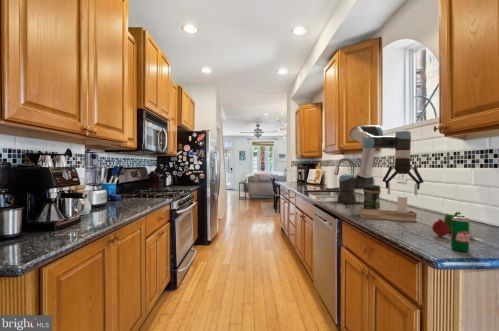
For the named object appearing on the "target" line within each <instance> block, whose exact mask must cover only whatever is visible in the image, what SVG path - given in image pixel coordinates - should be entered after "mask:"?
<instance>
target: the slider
mask: <svg viewBox="0 0 499 331" xmlns="http://www.w3.org/2000/svg"><path fill="white" fill-rule="evenodd" d="M396 211H397V213H407V211H408V196H404V195H403V196H402V195H398V196H397V210H396Z"/></svg>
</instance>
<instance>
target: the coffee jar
mask: <svg viewBox="0 0 499 331" xmlns="http://www.w3.org/2000/svg"><path fill="white" fill-rule="evenodd" d="M362 191H363V195H364V196H363V197H364V198H363V207H362V208H363V209H376V210H381V205H380V204H381V203H380V194H381V186H380V185H377V184H374V185H364V188H363V190H362Z"/></svg>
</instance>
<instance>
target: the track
mask: <svg viewBox="0 0 499 331" xmlns="http://www.w3.org/2000/svg"><path fill="white" fill-rule="evenodd" d="M397 211H398V210H392V209H391V210H389V209H380V210H376V209H363V207H362V206H360V207H359V216H360V218H363V219H377V220H388V221H389V220H391V221H392V220H393V221H403V222H404V221H406V222H417V216H418V214H417V213H418V212H417V211H415V210H414V209H409V211H408V210H407V213H397Z"/></svg>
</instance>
